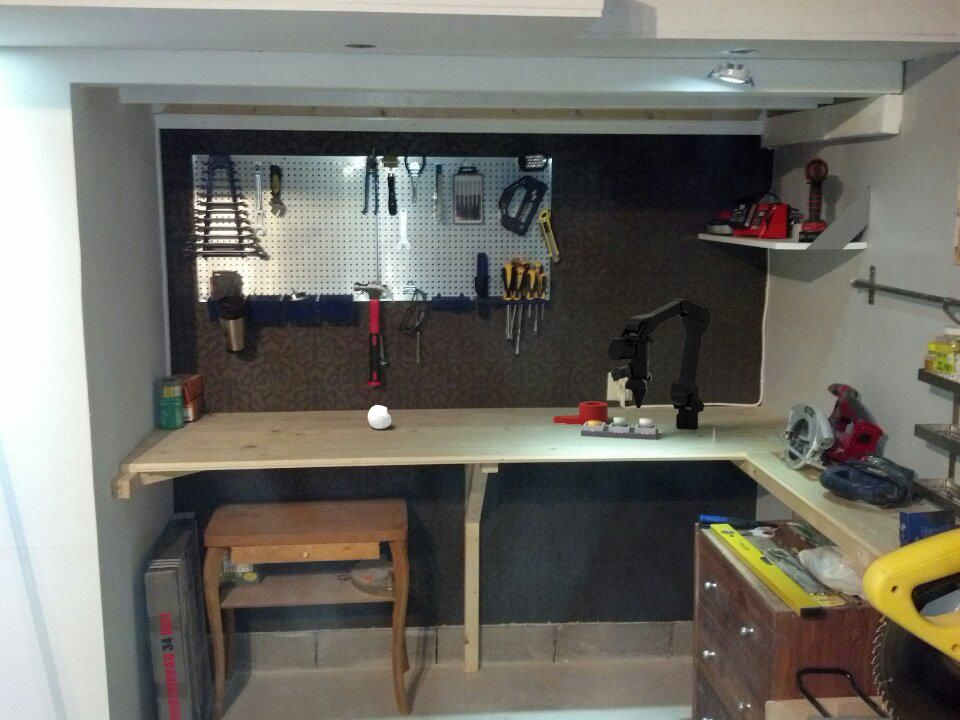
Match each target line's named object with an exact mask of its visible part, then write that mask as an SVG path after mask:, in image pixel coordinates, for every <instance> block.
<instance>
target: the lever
mask: <svg viewBox="0 0 960 720" xmlns="http://www.w3.org/2000/svg"><path fill="white" fill-rule="evenodd" d="M608 407H609V404H608V403H607V402H604V401H594V400H593V401H582V402H579V403H578V414H575V415H572V414H571V415H555V416H553V418H552V419H553V420H552V423H553V422H554V424H557V423H566V424H565V425H571V424H581V425H580V426H583V425H584V424H585V422H588V421H591V420H596V421H601V422H604V423H606V425H607V424H608V410H609V408H608Z"/></svg>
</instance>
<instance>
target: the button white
mask: <svg viewBox="0 0 960 720" xmlns="http://www.w3.org/2000/svg"><path fill="white" fill-rule="evenodd" d="M638 424H639V426H642V427H651V426H653V425H654V422H653V418H649V417H641V418H639V423H638Z"/></svg>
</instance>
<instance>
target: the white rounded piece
mask: <svg viewBox="0 0 960 720" xmlns="http://www.w3.org/2000/svg"><path fill="white" fill-rule="evenodd" d="M367 421H368V423H369V425H370V426H371V427H372V428H373V429H377V430H385V429H386V428H388V427H390V425H391V423H392V416H391V415H390V414H389V412H388V407H387V406H384V405H379V404H375V405H374V406H372V407H371V408H370V409H369V411H368V412H367Z"/></svg>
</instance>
